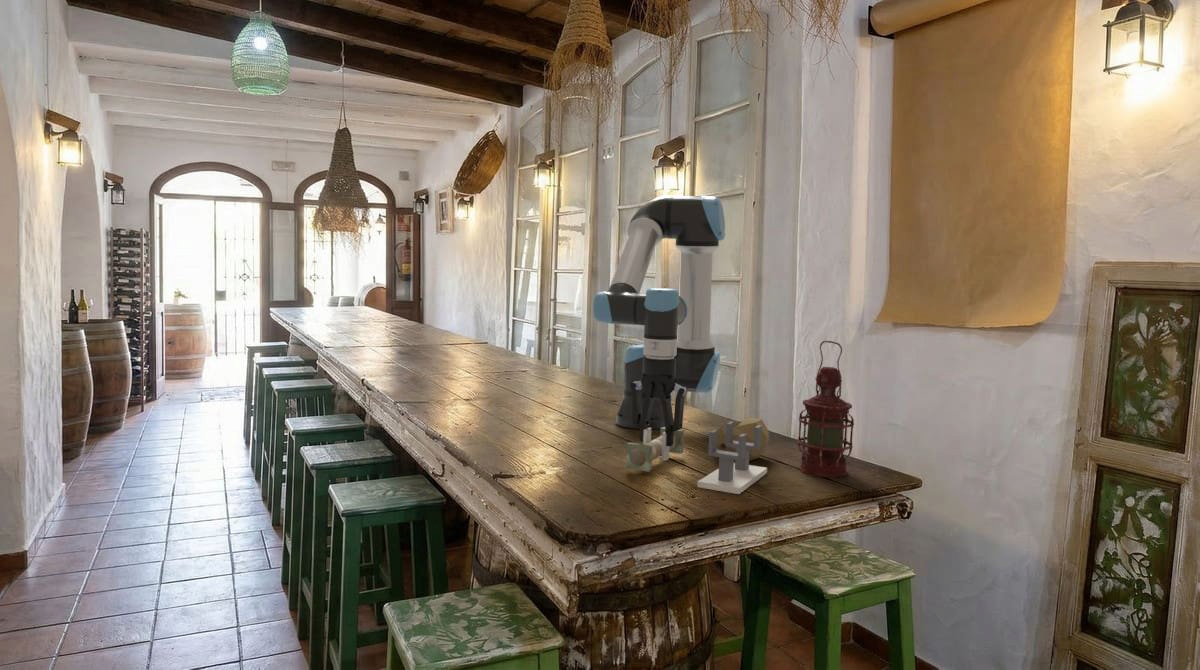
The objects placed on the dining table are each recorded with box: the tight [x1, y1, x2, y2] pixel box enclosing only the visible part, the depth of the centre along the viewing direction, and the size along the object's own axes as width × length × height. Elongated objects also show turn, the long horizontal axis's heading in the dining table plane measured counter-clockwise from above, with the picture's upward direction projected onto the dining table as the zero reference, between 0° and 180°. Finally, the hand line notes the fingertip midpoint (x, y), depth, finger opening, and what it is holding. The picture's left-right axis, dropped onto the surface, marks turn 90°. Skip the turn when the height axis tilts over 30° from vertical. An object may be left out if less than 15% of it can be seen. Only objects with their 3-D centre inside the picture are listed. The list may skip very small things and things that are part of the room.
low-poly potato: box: [716, 416, 770, 462], centre depth 192 cm, size 15×11×12 cm
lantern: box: [797, 340, 855, 479], centre depth 181 cm, size 12×12×30 cm
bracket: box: [697, 421, 768, 495], centre depth 172 cm, size 20×9×11 cm, turn 152°
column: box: [625, 427, 685, 473], centre depth 183 cm, size 20×5×5 cm, turn 152°
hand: (655, 457), depth 183 cm, fingers closed on column, 4 cm apart
